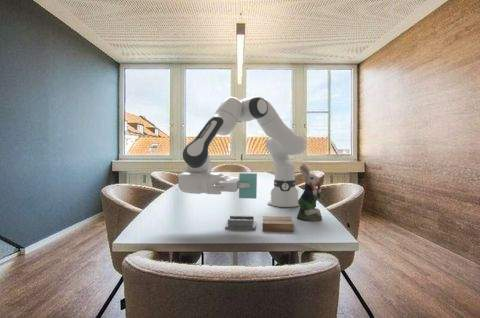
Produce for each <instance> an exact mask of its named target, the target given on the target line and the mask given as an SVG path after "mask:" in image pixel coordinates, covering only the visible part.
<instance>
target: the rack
mask: <svg viewBox="0 0 480 318" xmlns="http://www.w3.org/2000/svg"><path fill="white" fill-rule="evenodd" d="M254 217H255V216H254V215H233V214H231V215H229V218H228V219H227V222H226V223H225V225H224V229H225V230H242V231H243V230H246V231H247V230H248V231H256V227H257V226H256V225H257V221H255V220H254Z"/></svg>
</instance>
